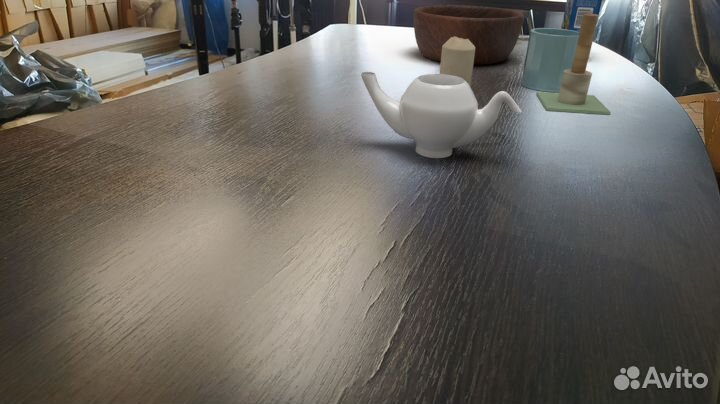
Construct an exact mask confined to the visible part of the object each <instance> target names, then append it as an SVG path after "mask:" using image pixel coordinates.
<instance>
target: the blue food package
mask: <svg viewBox="0 0 720 404" xmlns="http://www.w3.org/2000/svg"><path fill="white" fill-rule="evenodd" d="M602 2H603V0H566V2H565V8H564V11H563V17H562V22H561V27H560V29H567V30H573V31H578V32H580V28H581V23H582V19H583V15H584V14H596V15H598V17H599V15H600V11H601V6H602ZM598 20H599V18H598V19H597V21H598ZM597 24H598V23H597ZM597 24H596V26H597ZM596 28H597V27H596ZM596 28H595V30H596ZM595 33H596V31H595V32H594V34H595ZM594 38H595V36H594V37H593V39H594ZM593 42H594V40H593V41H592V43H593ZM592 46H593V44H592V45H591V47H592ZM591 50H592V48H591V49H590V52H591ZM590 54H591V53H590ZM590 54H589V56H590ZM589 58H590V57H589ZM589 58H588V60H590V59H589Z"/></svg>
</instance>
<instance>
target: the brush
mask: <svg viewBox="0 0 720 404" xmlns="http://www.w3.org/2000/svg"><path fill="white" fill-rule="evenodd" d="M597 19H598V20H599V16H598V15H596V14H584V15H583V19H582V23H581V28H580V32H579V37H578V42H577V46H576V51H575V55H574V60H573V64H572V69H566V70H564V73H563V78H562V82H561V87H560V92H558V93H559V96H558V101H560V102H562V103H566V104H572V105H582V104H585V101H586V97H587V95H588V92H589V89H590V86H591V85H590V84H591V81H592V76H593V72H591V71H589V70H587V66H588V62H589V59H588V58H590V55H589V54H591V51H590V49H591V50H592V46H593V42H594V38H595V33H596V29H595V28H597V25H596V24H598V20H597ZM594 32H595V33H594ZM593 37H594V38H593ZM592 41H593V42H592ZM591 45H592V46H591Z"/></svg>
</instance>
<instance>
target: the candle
mask: <svg viewBox="0 0 720 404" xmlns="http://www.w3.org/2000/svg"><path fill="white" fill-rule="evenodd" d="M474 55H475V46H474V45H473V44H472V43H471V42H470V41H469V39H463V38H458V37H456V36H455V37H451V38H450V39H449V40H448V41H447V42H446V43H445V44H444V45H443V46H442V55H441V61H440V65H439V74H446V75H453V76H457V77H460V78H462V79H464V80H465V81H466V82H467V83H468V84H469V85H470V87H471V88H472V77H473V71H474V70H473V69H474V65H473V63H474Z"/></svg>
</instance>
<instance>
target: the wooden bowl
mask: <svg viewBox="0 0 720 404" xmlns="http://www.w3.org/2000/svg"><path fill="white" fill-rule="evenodd" d="M412 17H413V30H414V32H413V33H414V38H415V41H416V45H417V48H418V50H419V52H420V54H421V55H422V56H423V57H425V58H427V59H429V60H432V61H437V62H441V55H442V46H443V45H444V44H445V43H446V42H447V41H448V40H449V39H450V38H451V37H455V36H456V37H458V38H463V39H469V41H470V42H471V43H472V44H473V45H474V46H475V55H474V63H473V66H475V65H476V66H477V65H478V66H479V65H493V64H498V63H501V62H503V61H505V60H506V59H508V58H509V56H510V55H511V53H512V52H513V50H514V49H515V46H516V45H517V43H518V40H519V37H520V35H521V31H522V28H523V24H524V21H525V14H523V13H522V12H520V11H517V10H512V9H507V8H502V7H490V6H480V5H464V4H463V5H462V4H461V5H460V4H439V5H438V4H437V5H425V6H419V7H416V8H415V9H414V10H413V16H412Z"/></svg>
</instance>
